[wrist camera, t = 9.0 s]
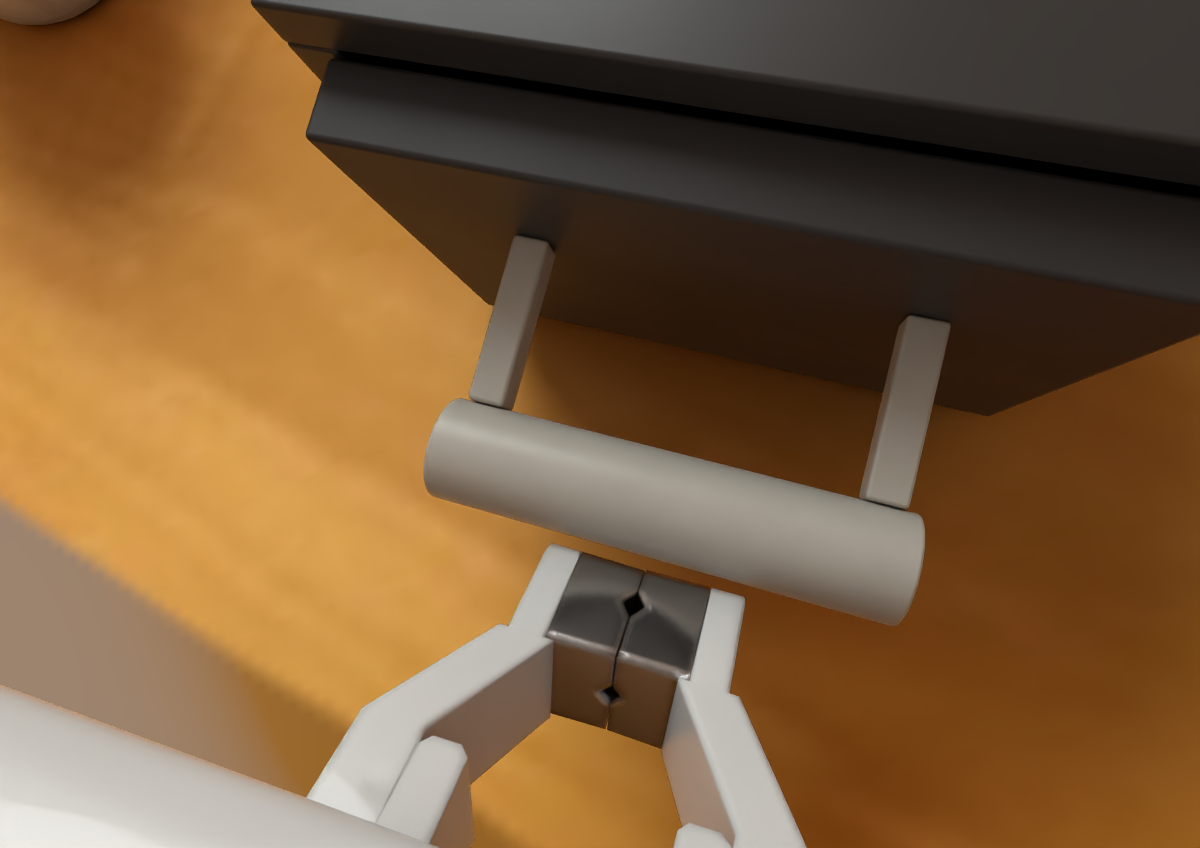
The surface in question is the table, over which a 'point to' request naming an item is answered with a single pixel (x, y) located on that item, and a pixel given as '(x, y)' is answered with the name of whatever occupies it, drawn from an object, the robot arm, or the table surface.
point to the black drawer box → (829, 65)
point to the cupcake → (42, 10)
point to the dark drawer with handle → (750, 299)
